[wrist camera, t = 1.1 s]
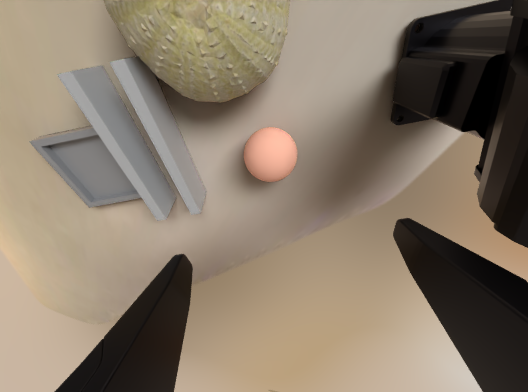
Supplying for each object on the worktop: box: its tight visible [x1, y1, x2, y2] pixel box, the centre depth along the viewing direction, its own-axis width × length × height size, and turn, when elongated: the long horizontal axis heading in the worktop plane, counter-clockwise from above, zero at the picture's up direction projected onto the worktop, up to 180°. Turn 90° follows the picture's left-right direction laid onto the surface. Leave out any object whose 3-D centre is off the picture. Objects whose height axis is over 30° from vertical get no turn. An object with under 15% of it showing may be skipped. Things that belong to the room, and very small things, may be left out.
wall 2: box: [110, 56, 206, 215], centre depth 15 cm, size 1×11×3 cm, turn 10°
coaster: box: [29, 125, 141, 208], centre depth 17 cm, size 6×6×1 cm
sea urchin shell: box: [104, 0, 290, 103], centre depth 11 cm, size 9×8×8 cm
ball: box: [244, 127, 297, 182], centre depth 16 cm, size 4×4×4 cm
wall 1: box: [57, 65, 176, 221], centre depth 16 cm, size 1×11×3 cm, turn 10°
